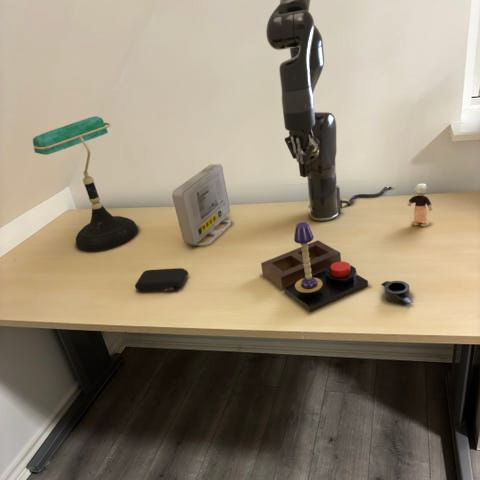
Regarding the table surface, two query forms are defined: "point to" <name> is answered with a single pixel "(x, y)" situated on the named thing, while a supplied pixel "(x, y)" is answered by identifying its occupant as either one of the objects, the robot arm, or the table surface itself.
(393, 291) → the black winged round part
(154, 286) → the carrying case
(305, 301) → the switch base
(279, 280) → the rack
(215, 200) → the network device
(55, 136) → the banker's lamp
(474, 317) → the table surface
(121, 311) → the table surface
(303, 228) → the toy lamp
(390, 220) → the table surface
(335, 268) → the switch button
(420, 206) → the grandmother figurine
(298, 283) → the brass plate
